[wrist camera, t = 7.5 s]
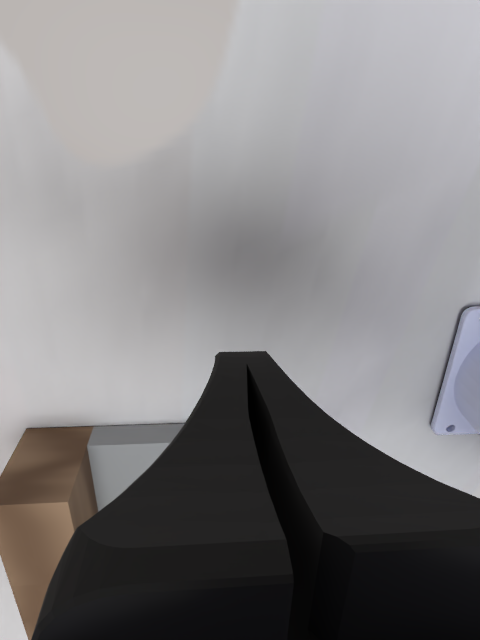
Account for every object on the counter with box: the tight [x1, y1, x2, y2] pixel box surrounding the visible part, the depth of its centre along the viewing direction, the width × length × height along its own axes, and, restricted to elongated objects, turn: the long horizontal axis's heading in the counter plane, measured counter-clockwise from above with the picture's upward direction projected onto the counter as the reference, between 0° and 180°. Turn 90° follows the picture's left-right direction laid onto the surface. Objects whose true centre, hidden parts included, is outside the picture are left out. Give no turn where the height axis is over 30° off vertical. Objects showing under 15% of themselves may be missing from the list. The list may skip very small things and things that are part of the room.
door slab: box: [87, 423, 185, 512], centre depth 25 cm, size 11×14×3 cm
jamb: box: [0, 426, 98, 640], centre depth 24 cm, size 4×14×5 cm, turn 179°
